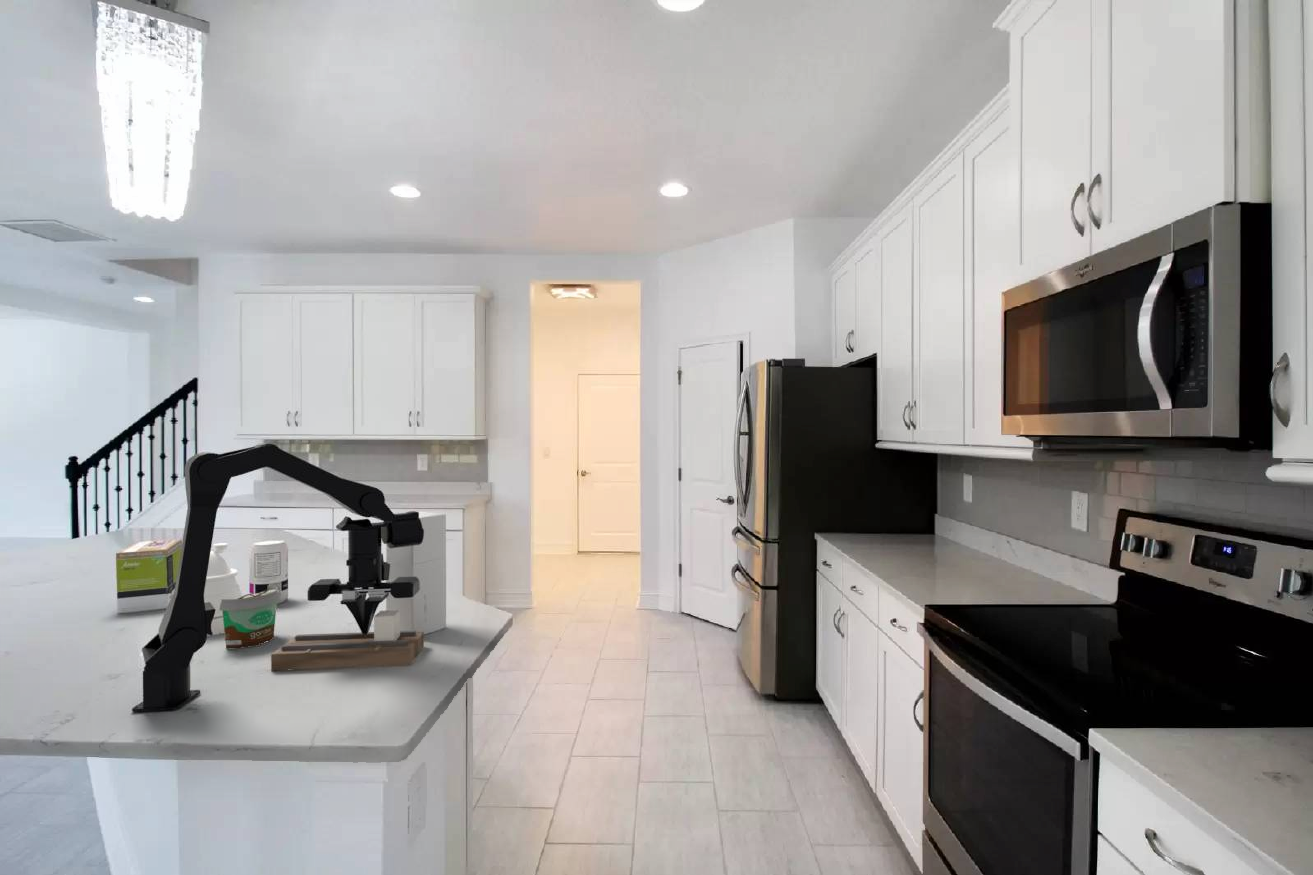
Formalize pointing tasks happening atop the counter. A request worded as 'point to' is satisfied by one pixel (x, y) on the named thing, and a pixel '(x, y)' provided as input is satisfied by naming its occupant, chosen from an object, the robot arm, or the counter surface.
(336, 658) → the slider track
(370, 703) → the counter surface
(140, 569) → the tea box
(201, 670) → the counter surface
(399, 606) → the tall white carton
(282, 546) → the supplement can
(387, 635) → the slider tab
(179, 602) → the robot arm
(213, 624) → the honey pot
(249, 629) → the food container
